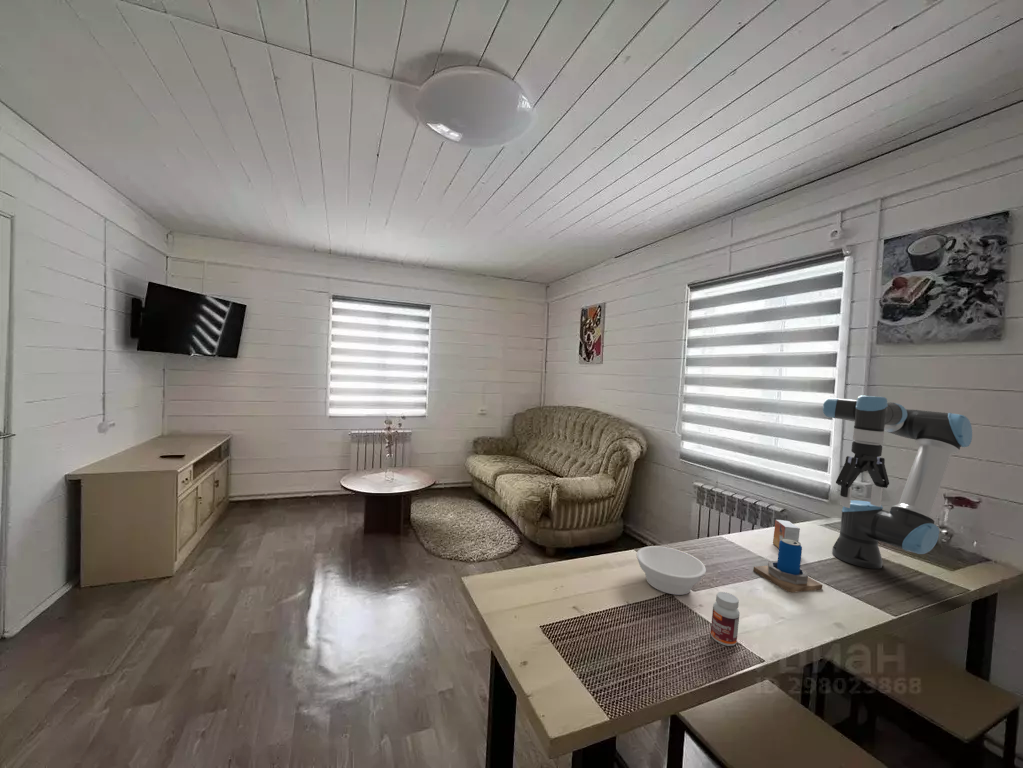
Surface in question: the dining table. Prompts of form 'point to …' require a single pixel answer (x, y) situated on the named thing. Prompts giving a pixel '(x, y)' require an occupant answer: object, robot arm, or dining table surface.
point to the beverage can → (789, 556)
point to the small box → (785, 531)
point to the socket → (787, 578)
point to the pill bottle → (725, 619)
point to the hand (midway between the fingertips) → (860, 506)
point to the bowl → (670, 569)
